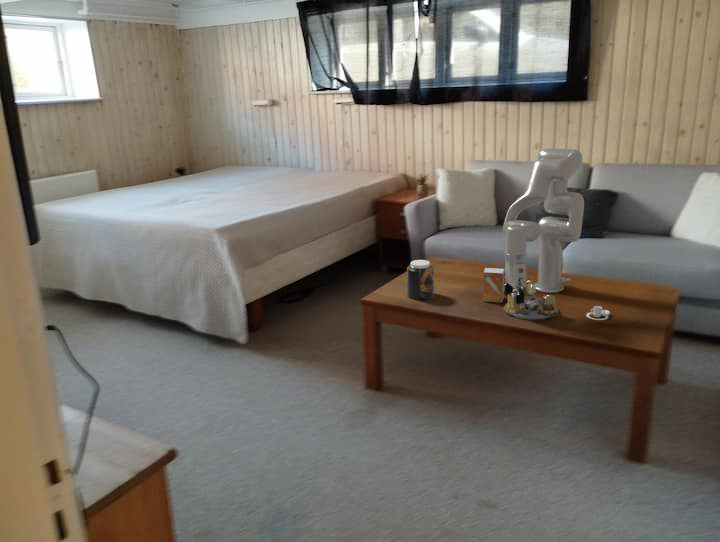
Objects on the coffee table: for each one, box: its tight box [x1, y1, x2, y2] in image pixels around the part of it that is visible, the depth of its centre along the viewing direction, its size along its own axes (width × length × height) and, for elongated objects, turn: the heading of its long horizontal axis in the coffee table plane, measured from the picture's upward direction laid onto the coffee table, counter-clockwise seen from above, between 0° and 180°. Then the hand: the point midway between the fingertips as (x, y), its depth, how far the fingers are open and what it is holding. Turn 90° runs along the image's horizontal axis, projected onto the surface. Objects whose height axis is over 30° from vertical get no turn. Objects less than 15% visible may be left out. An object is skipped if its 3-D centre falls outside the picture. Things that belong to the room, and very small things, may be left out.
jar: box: [406, 259, 435, 301], centre depth 258 cm, size 12×12×15 cm
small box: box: [482, 267, 505, 304], centre depth 249 cm, size 8×6×13 cm
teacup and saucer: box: [585, 305, 611, 321], centre depth 229 cm, size 9×8×4 cm
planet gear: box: [503, 292, 524, 314], centre depth 235 cm, size 7×8×6 cm
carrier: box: [506, 283, 560, 321], centre depth 237 cm, size 20×20×8 cm
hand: (514, 298), depth 235 cm, fingers open, 9 cm apart
